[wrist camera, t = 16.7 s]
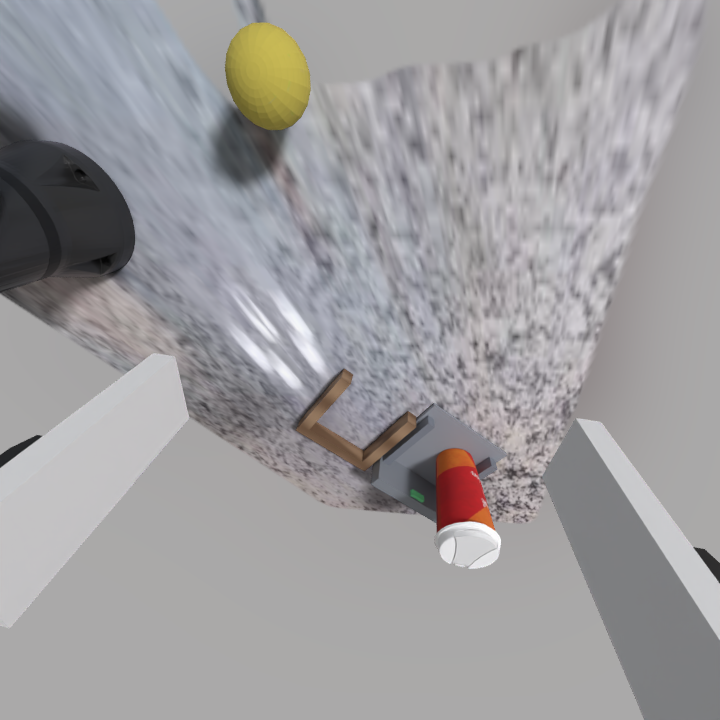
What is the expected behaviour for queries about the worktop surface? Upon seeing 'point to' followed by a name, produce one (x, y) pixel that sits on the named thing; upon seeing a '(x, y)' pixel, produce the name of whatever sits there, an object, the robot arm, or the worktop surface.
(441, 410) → the port dock
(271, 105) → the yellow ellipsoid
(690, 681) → the robot arm
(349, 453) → the wooden u-shaped frame
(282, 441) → the worktop surface
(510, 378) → the worktop surface
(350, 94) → the worktop surface
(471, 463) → the coffee cup
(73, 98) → the worktop surface
